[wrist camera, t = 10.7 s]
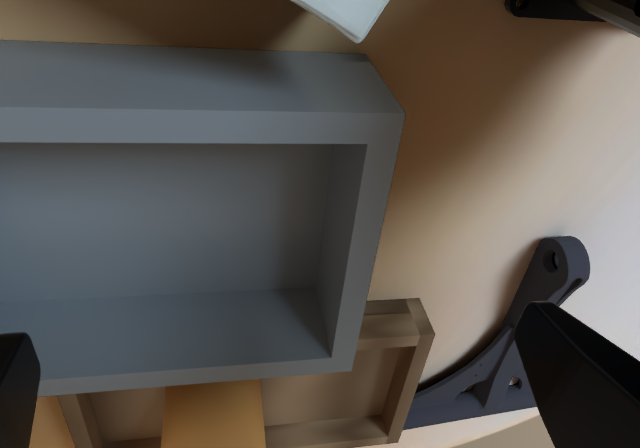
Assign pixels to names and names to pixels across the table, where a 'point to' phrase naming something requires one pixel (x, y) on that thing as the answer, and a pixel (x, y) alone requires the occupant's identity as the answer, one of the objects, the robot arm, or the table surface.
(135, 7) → the table surface
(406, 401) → the walnut tray
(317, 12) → the skincare box
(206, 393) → the tan cylinder
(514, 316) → the bracket
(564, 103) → the table surface
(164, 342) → the grey storage bin
